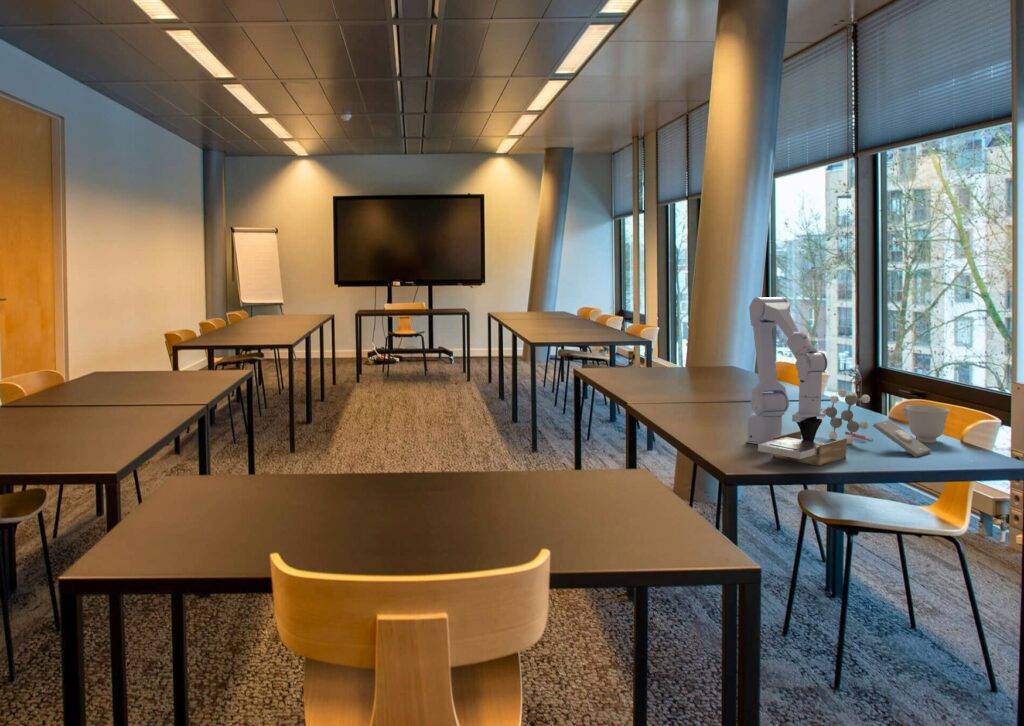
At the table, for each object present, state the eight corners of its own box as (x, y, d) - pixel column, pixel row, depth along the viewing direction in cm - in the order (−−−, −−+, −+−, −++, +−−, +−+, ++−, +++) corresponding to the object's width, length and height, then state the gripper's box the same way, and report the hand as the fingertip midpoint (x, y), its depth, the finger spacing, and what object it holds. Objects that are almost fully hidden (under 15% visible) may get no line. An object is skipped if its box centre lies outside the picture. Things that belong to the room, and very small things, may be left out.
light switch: (919, 452, 217) (875, 420, 226) (908, 468, 219) (865, 436, 229) (933, 447, 222) (890, 417, 231) (922, 463, 225) (879, 432, 234)
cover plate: (757, 450, 212) (758, 443, 212) (785, 443, 221) (785, 436, 221) (800, 459, 202) (800, 451, 202) (827, 450, 211) (827, 443, 211)
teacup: (917, 433, 249) (919, 402, 247) (957, 443, 235) (959, 410, 233) (887, 436, 245) (889, 404, 244) (926, 446, 231) (928, 413, 230)
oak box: (772, 457, 219) (773, 437, 218) (799, 449, 228) (799, 430, 227) (820, 466, 208) (821, 445, 207) (845, 458, 217) (846, 438, 216)
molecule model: (887, 453, 234) (900, 402, 233) (848, 444, 228) (862, 392, 227) (838, 440, 252) (850, 392, 252) (801, 431, 246) (813, 383, 246)
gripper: (810, 400, 207) (808, 450, 209) (836, 394, 217) (834, 442, 218) (785, 397, 213) (784, 446, 214) (813, 391, 222) (811, 438, 224)
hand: (808, 444), depth 217 cm, fingers closed
